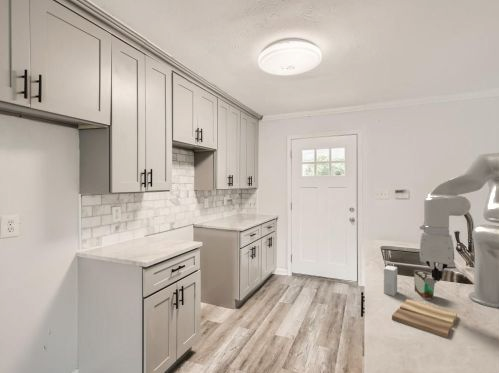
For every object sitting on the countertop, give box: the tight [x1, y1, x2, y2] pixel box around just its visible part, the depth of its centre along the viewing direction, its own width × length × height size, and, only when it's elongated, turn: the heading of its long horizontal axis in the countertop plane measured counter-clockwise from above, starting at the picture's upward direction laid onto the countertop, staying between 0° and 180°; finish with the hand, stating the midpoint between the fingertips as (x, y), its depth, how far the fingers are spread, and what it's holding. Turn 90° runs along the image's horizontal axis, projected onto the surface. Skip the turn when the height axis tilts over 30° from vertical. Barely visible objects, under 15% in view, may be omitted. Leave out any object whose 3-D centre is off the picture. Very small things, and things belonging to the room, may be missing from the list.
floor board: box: [391, 307, 453, 339], centre depth 97 cm, size 20×18×2 cm
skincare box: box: [383, 265, 398, 297], centre depth 119 cm, size 6×4×12 cm
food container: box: [413, 269, 438, 300], centre depth 117 cm, size 12×6×10 cm, turn 168°
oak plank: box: [399, 298, 458, 327], centre depth 100 cm, size 10×16×2 cm, turn 46°
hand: (437, 279), depth 101 cm, fingers closed
